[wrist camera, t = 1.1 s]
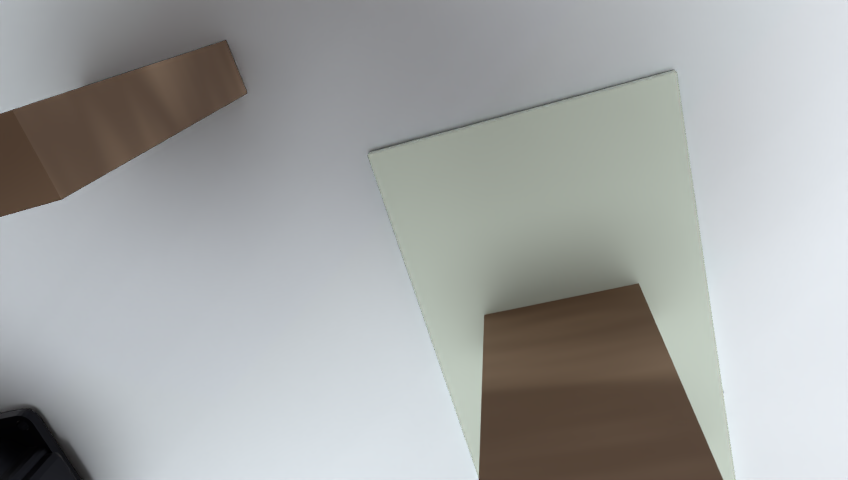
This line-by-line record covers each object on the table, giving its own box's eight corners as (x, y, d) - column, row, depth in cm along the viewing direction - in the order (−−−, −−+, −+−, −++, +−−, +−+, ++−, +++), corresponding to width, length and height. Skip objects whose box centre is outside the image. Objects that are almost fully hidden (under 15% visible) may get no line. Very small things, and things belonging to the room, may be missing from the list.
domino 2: (646, 325, 20) (746, 572, 12) (496, 354, 22) (495, 599, 13) (638, 283, 20) (738, 512, 12) (484, 314, 21) (476, 545, 13)
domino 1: (247, 93, 19) (61, 199, 11) (106, 136, 20) (-160, 262, 12) (225, 40, 18) (12, 110, 10) (81, 87, 19) (-216, 184, 11)
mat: (546, 670, 29) (547, 677, 28) (369, 152, 19) (367, 155, 19) (758, 653, 27) (761, 660, 26) (673, 70, 17) (676, 72, 17)
